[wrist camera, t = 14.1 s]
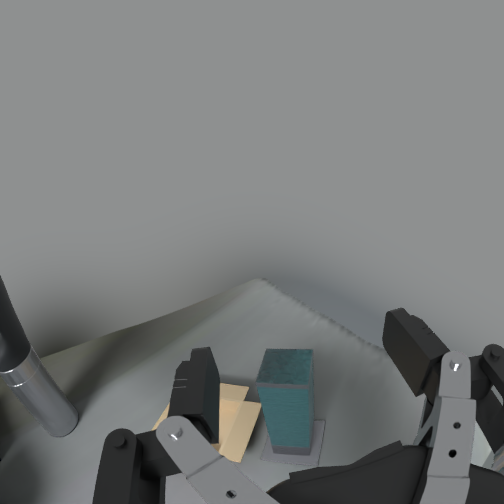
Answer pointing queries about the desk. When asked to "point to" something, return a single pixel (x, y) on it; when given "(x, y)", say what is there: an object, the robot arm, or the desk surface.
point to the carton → (232, 421)
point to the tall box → (288, 399)
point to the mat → (298, 459)
